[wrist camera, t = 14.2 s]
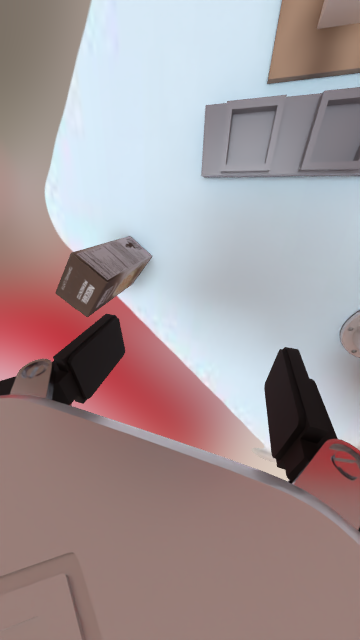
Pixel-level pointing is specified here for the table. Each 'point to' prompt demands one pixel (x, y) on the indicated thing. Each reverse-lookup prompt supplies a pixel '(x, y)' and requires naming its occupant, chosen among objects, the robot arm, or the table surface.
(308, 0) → the walnut mat
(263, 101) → the power strip
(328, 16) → the plug
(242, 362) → the table surface
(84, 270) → the coffee box
